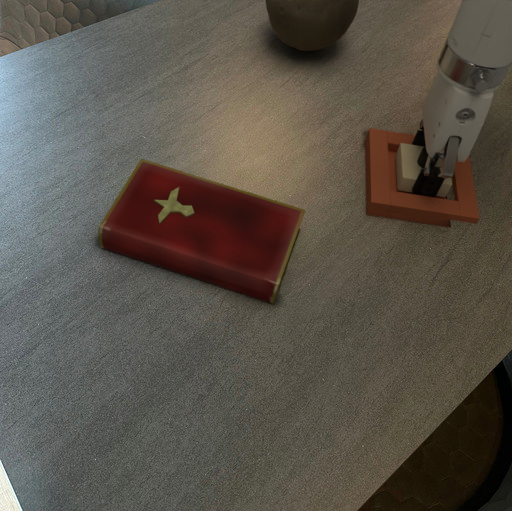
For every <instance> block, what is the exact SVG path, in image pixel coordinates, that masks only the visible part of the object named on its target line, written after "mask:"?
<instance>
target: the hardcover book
mask: <svg viewBox="0 0 512 511" xmlns="http://www.w3.org/2000/svg"><path fill="white" fill-rule="evenodd" d="M305 214H306V209H304V208H300V207H297V206H294V205H291V204H287V203H284V202H282V201H279V200H275V199H272V198H268V197H266V196H262V195H259V194H255V193H253V192H250V191H246V190H243V189H239V188H237V187H233V186H230V185H227V184H224V183H220V182H217V181H214V180H212V179H208V178H205V177H202V176H198V175H194V174H192V173H189V172H186V171H182V170H178V169H176V168H173V167H170V166H166V165H164V164H160V163H156V162H154V161H151V160H148V159H144V158H140V160H139V161H138V163H137V164H136V166H135V168H134V169H133V170H132V172H131V174H130V176H129V177H128V179H127V180H126V182H125V184H124V185H123V187H122V189H121V190H120V192H119V194H118V195H117V197H116V198H115V200H114V201H113V203H112V205H111V207H110V208H109V209H108V211H107V212H106V214H105V216H104V217H103V220H102V221H101V222H100V224H99V226H98V230H97V233H98V243H99V244H98V245H99V247H100V248H101V249H104V250H108V251H110V252H113V253H116V254H120V255H123V256H125V257H129V258H131V259H134V260H138V261H141V262H144V263H147V264H150V265H153V266H156V267H158V268H162V269H165V270H167V271H171V272H173V273H177V274H179V275H183V276H187V277H188V278H192V279H195V280H199V281H201V282H205V283H208V284H211V285H214V286H216V287H220V288H224V289H226V290H229V291H232V292H235V293H239V294H241V295H244V296H247V297H250V298H254V299H257V300H259V301H263V302H265V303H269V304H271V305H275V303H276V300H277V296H278V294H279V291H280V288H281V286H282V282H283V280H284V276H285V275H286V270H287V268H288V265H289V262H290V259H291V256H292V254H293V251H294V248H295V246H296V242H297V239H298V237H299V234H300V230H301V224H302V222H303V220H304V216H305Z"/></svg>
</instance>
